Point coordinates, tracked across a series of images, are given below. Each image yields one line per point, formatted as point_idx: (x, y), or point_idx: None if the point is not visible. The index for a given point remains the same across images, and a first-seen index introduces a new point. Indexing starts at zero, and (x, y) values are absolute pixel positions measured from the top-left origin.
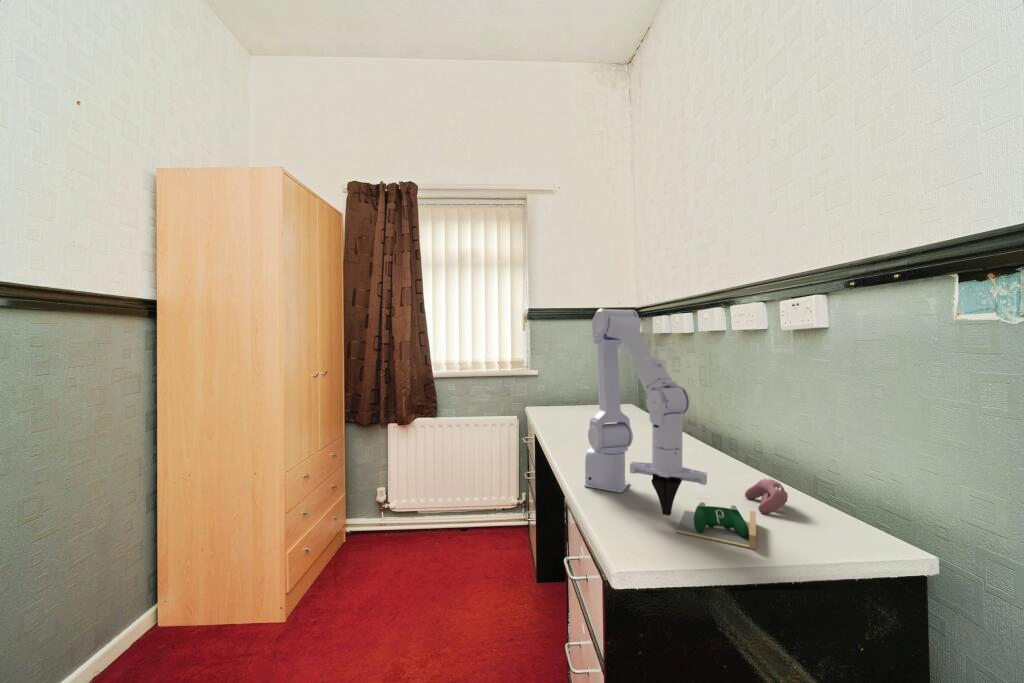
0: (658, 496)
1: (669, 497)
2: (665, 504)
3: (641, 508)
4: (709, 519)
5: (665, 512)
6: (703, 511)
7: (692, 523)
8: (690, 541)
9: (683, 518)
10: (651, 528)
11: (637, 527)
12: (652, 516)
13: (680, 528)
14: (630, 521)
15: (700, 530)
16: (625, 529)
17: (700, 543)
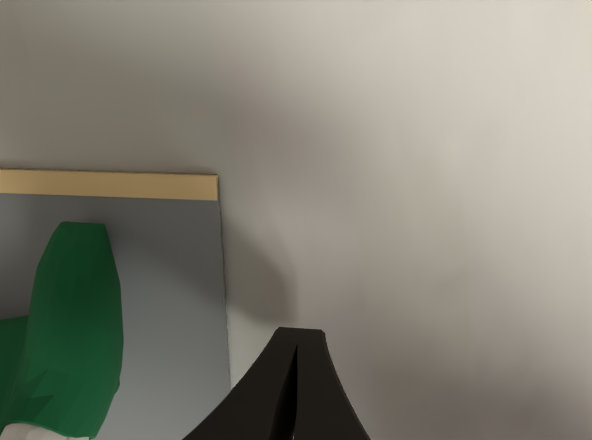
0: (361, 428)
1: (238, 425)
2: (297, 383)
3: (470, 426)
4: (22, 336)
5: (301, 335)
6: (23, 376)
7: (160, 332)
8: (114, 88)
9: (219, 377)
10: (375, 164)
11: (473, 131)
12: (392, 345)
13: (203, 235)
14: (531, 210)
15: (73, 222)
16: (565, 45)
17: (58, 91)
